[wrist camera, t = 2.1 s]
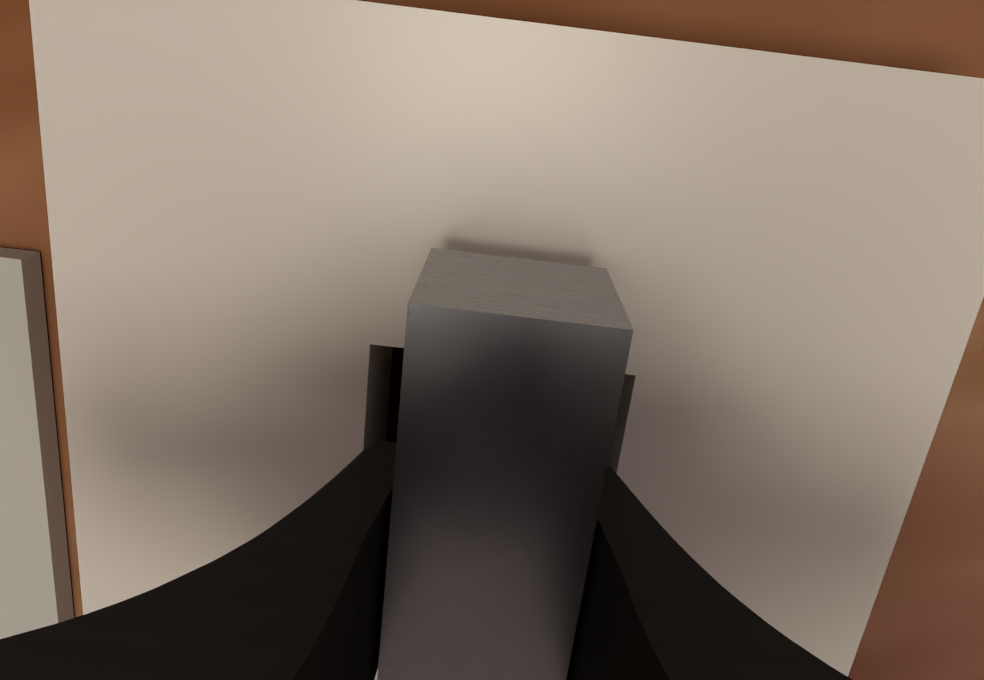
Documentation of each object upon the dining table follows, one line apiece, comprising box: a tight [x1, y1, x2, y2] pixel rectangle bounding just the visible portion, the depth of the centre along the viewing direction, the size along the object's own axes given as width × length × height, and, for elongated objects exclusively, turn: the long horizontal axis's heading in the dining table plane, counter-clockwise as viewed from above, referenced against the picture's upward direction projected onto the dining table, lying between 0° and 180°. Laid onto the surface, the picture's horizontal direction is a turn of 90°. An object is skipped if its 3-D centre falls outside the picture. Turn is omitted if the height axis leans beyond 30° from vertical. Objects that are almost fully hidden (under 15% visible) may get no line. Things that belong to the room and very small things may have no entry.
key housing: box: [29, 0, 984, 680], centre depth 14 cm, size 14×14×3 cm
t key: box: [377, 248, 633, 680], centre depth 13 cm, size 8×3×6 cm, turn 173°
